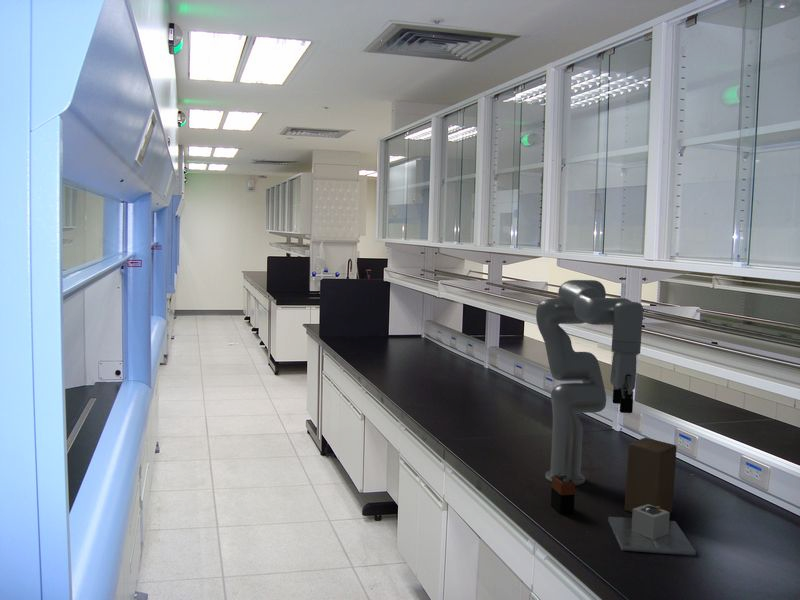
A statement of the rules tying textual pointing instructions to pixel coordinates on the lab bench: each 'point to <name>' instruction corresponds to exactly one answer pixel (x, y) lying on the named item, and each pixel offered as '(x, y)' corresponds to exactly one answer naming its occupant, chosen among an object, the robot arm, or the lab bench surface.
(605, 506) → the lab bench surface
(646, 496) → the wooden block
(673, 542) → the plate
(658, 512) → the gray square frame
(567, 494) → the battery
